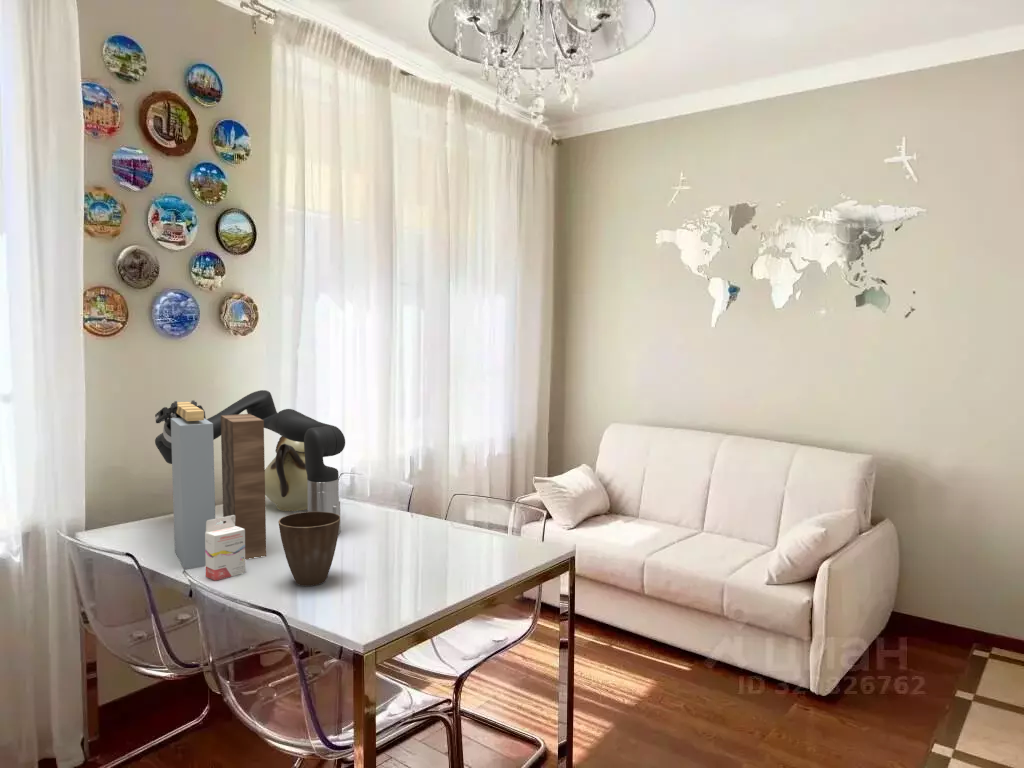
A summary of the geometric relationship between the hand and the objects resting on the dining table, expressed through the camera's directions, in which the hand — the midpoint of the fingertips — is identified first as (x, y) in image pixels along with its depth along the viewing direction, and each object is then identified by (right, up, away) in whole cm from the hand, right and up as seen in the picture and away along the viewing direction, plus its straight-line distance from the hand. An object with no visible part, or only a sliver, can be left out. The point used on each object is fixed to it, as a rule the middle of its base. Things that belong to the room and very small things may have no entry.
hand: (185, 403), depth 205 cm
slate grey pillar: (+5, -42, -4) cm, 43 cm away
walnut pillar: (+16, -42, +3) cm, 45 cm away
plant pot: (+41, -44, -21) cm, 64 cm away
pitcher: (+16, -38, +51) cm, 65 cm away
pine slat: (+2, -3, -4) cm, 5 cm away
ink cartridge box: (+18, -44, -17) cm, 50 cm away
